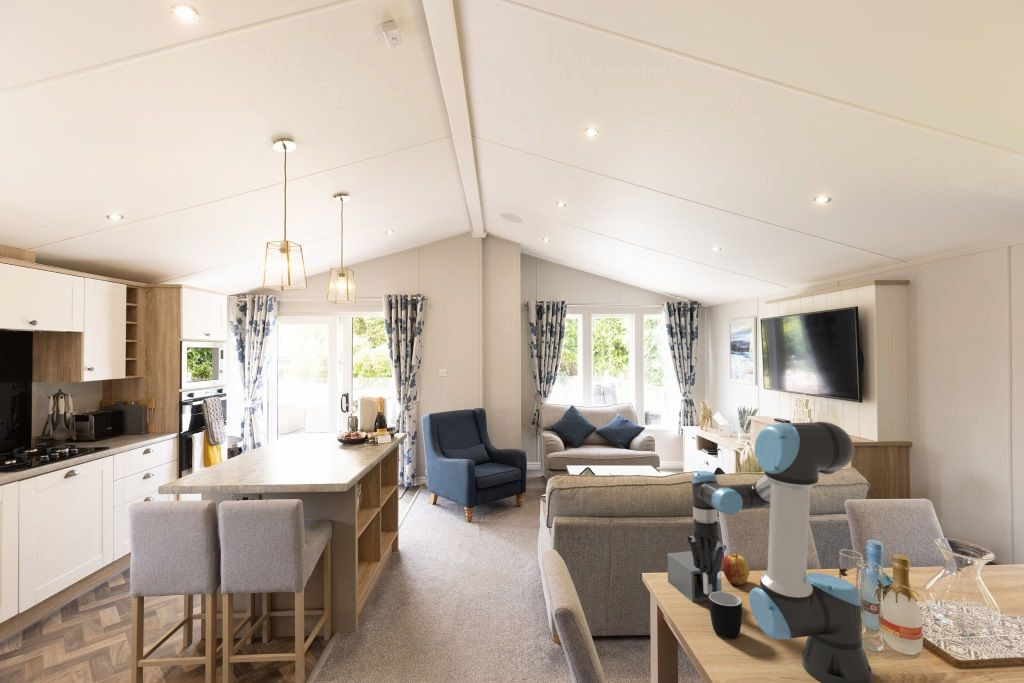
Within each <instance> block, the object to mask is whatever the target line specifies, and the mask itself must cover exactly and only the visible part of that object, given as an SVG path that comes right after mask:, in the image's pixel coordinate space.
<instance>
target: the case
mask: <svg viewBox="0 0 1024 683" xmlns="http://www.w3.org/2000/svg"><path fill="white" fill-rule="evenodd" d="M666 564H667V566H666V568H667V582H668V583H669V584H670V585H671V586H673V587H674V588H675V589H676V590H677V591H679V592H680V593H681V594H682V595H683V596H684V597H686V598H687V599H688V600H689V601H691V602H692V603H694V602H696V603H697V602H702V601H703V602H704V601H708V600H709V595H710V594H711V593H710V594H708V595H707V594H705V593H704V589H703V581H702V580H701V571H700V569H698V568H696V567H695V564H694V559H693V555H692V550H689V551H687V550H686V551H678V552H669V553H668V552H667V554H666ZM717 574H718V573H717ZM717 574H714V583H713V584H712V593H713V592H717Z"/></svg>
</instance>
